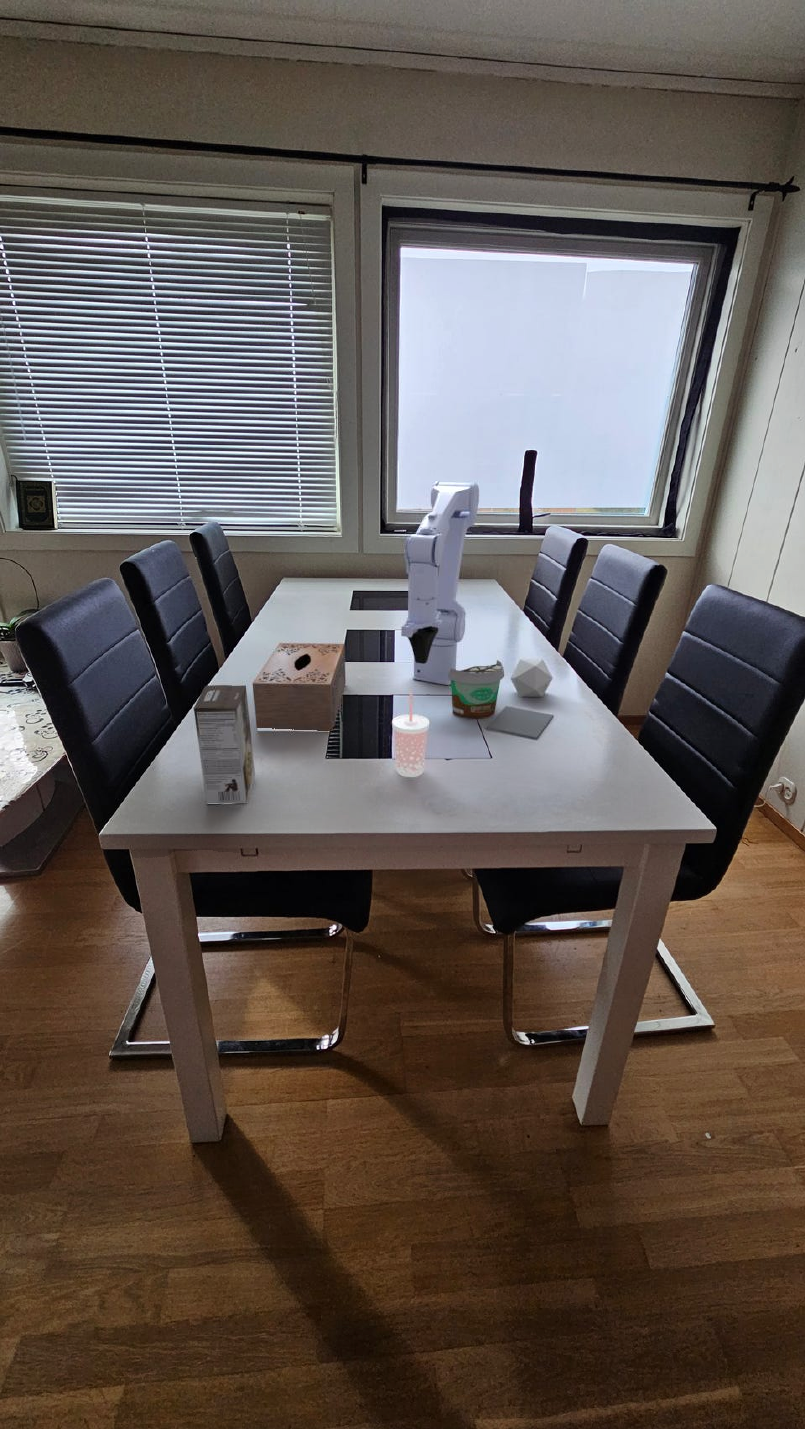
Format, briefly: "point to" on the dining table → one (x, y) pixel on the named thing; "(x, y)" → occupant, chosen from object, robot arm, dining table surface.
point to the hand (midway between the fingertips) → (421, 662)
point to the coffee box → (225, 743)
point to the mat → (520, 722)
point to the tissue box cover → (300, 687)
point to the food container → (475, 690)
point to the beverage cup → (410, 742)
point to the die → (531, 678)
